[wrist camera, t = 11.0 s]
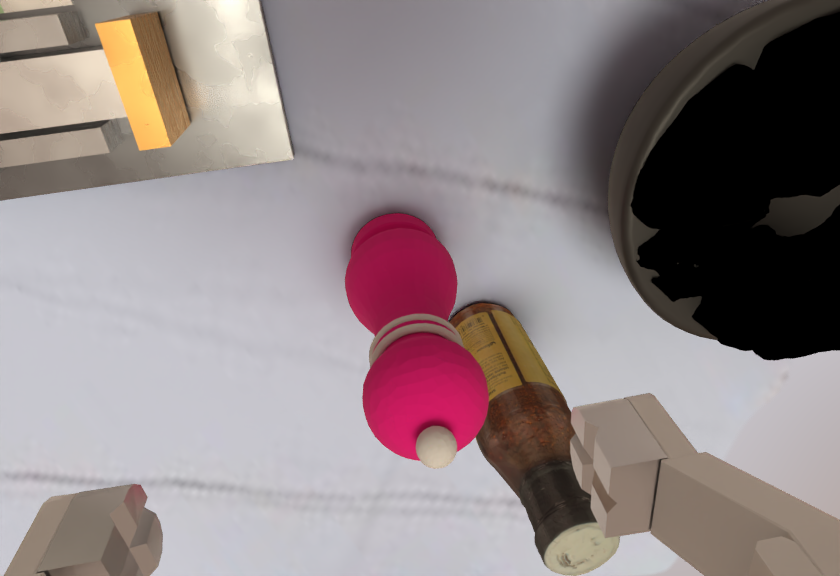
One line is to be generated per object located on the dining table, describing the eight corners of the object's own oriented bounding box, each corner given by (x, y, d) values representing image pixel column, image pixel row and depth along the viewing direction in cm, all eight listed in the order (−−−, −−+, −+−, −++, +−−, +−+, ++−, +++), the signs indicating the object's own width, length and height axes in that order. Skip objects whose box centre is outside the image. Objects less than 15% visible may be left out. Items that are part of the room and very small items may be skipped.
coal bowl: (575, 298, 45) (711, 487, 29) (541, 28, 35) (721, 84, 19) (822, 229, 45) (1099, 379, 29) (859, -62, 35) (1317, -84, 19)
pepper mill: (322, 251, 40) (314, 466, 23) (400, 184, 39) (454, 362, 22) (390, 314, 44) (427, 543, 26) (464, 254, 42) (556, 458, 25)
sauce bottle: (439, 366, 47) (501, 600, 30) (444, 299, 44) (515, 517, 26) (518, 361, 48) (622, 587, 30) (527, 296, 44) (649, 505, 27)
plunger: (-79, -28, 29) (-148, -27, 25) (137, -53, 29) (105, -56, 25) (4, 149, 33) (-42, 175, 29) (190, 124, 34) (171, 146, 30)
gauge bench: (-145, -19, 30) (-267, -15, 24) (246, -65, 31) (225, -71, 25) (-30, 200, 36) (-104, 248, 30) (294, 154, 37) (286, 192, 31)
